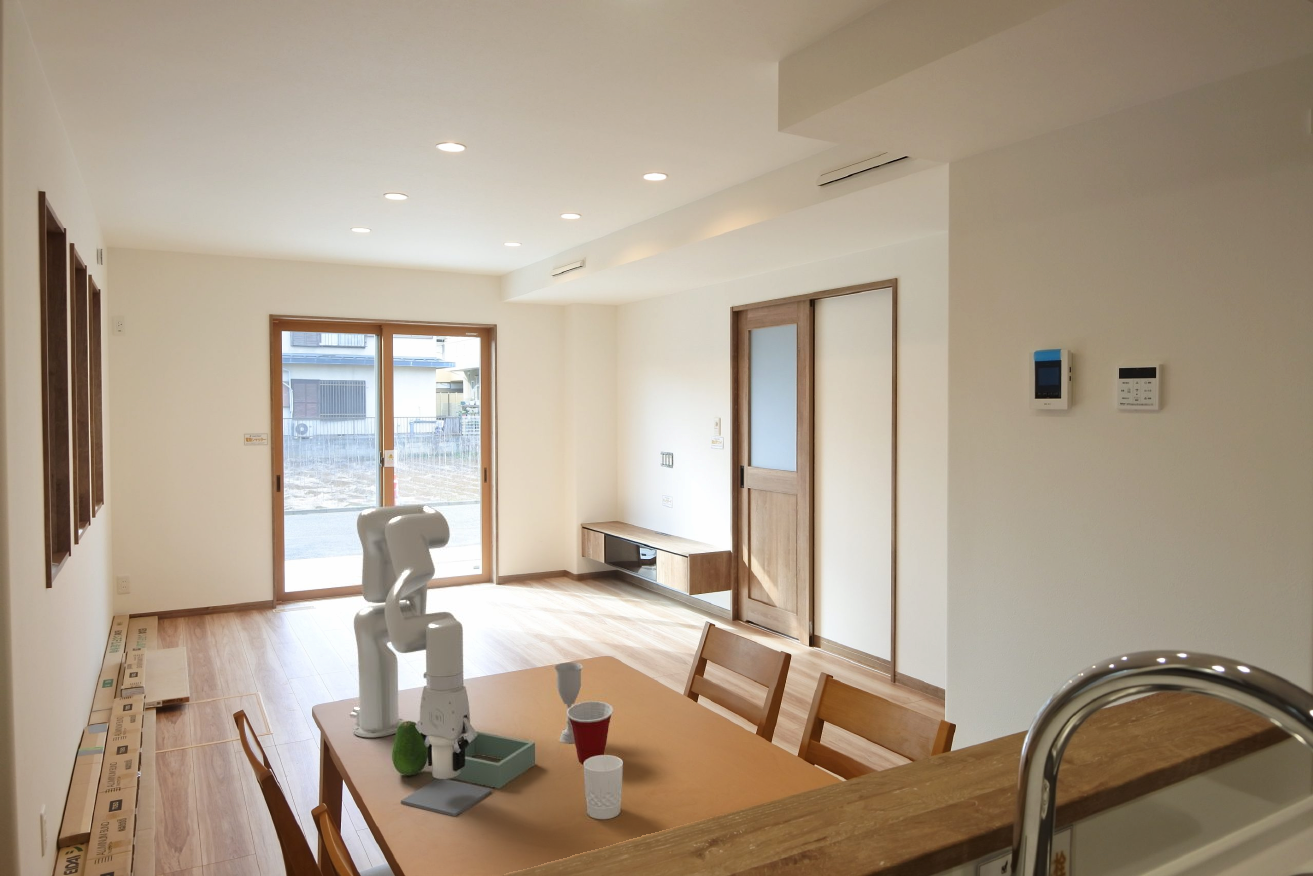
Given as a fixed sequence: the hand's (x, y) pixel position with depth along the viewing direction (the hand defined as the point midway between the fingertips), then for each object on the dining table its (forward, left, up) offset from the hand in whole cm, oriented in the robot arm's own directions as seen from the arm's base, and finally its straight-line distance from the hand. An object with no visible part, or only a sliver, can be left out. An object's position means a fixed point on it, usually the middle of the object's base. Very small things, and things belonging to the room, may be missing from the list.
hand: (446, 765), depth 177 cm
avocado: (-15, +6, -7) cm, 17 cm away
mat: (0, 0, -7) cm, 7 cm away
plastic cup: (+18, +29, -7) cm, 35 cm away
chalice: (+7, +38, -7) cm, 39 cm away
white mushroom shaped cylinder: (0, 0, -2) cm, 2 cm away
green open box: (-1, +15, -7) cm, 17 cm away
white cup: (+33, +8, -7) cm, 35 cm away
